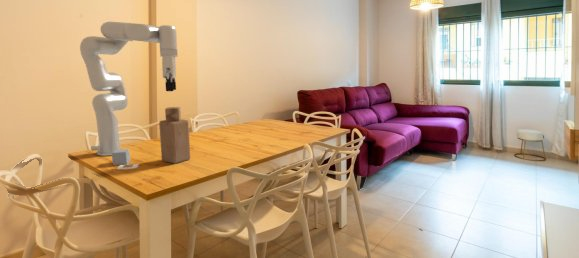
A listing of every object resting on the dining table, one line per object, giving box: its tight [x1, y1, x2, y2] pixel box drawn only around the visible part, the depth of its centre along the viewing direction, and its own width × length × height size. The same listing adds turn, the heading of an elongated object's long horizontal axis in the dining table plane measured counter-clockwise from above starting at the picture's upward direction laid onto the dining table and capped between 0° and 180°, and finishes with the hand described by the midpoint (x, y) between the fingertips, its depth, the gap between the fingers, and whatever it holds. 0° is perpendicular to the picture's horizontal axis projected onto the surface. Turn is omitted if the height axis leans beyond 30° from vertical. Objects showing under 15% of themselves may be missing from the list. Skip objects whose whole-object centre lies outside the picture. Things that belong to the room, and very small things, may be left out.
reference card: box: [116, 163, 140, 170], centre depth 147 cm, size 8×5×1 cm, turn 102°
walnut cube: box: [164, 106, 182, 122], centre depth 155 cm, size 6×6×6 cm
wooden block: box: [158, 118, 191, 165], centre depth 157 cm, size 10×10×20 cm
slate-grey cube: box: [111, 148, 131, 166], centre depth 154 cm, size 6×6×6 cm
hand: (171, 90), depth 153 cm, fingers open, 9 cm apart
